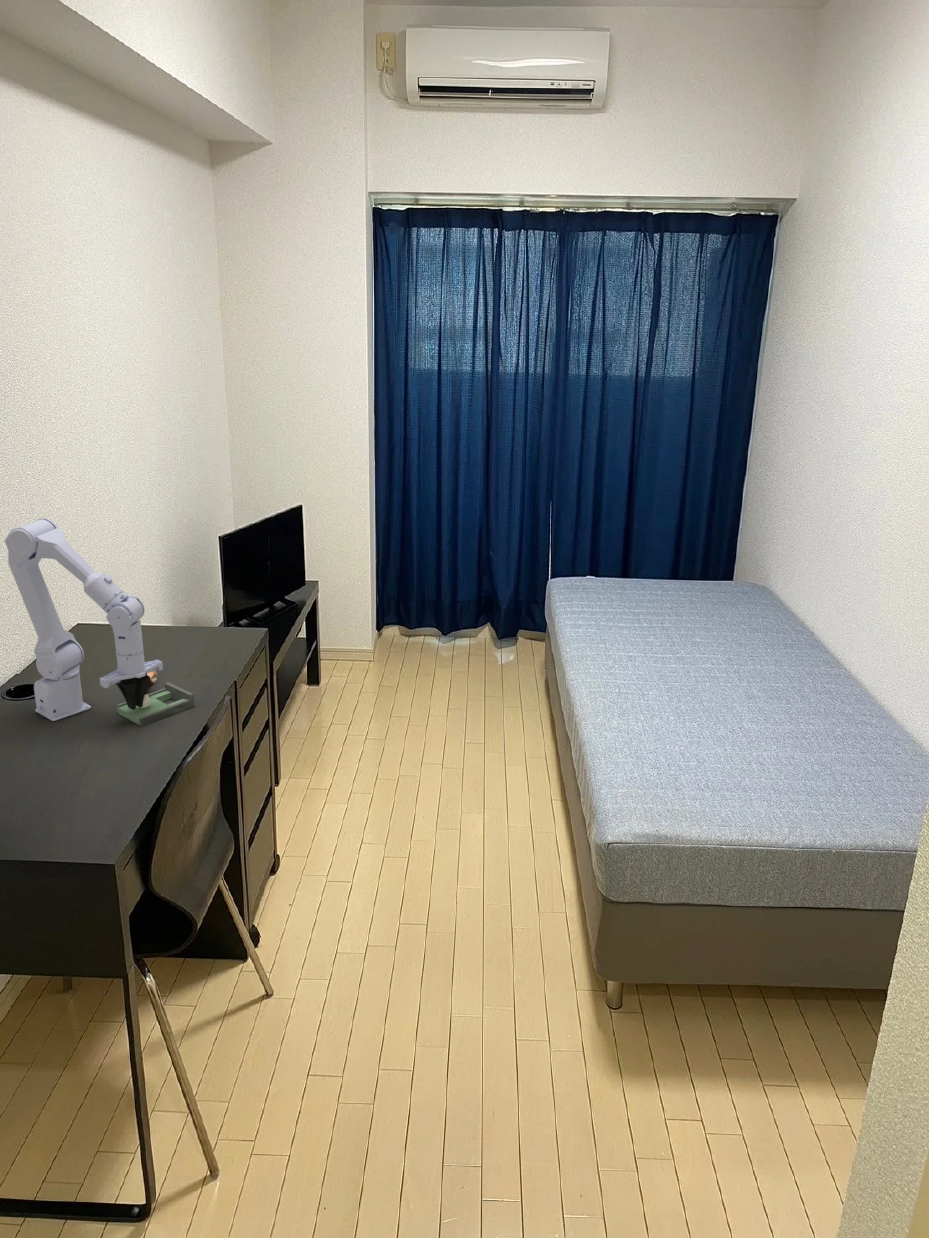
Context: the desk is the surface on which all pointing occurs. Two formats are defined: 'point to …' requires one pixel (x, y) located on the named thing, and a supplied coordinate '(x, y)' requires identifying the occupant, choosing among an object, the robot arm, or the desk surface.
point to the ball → (146, 702)
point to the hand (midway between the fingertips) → (135, 706)
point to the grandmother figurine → (152, 677)
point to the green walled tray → (158, 705)
